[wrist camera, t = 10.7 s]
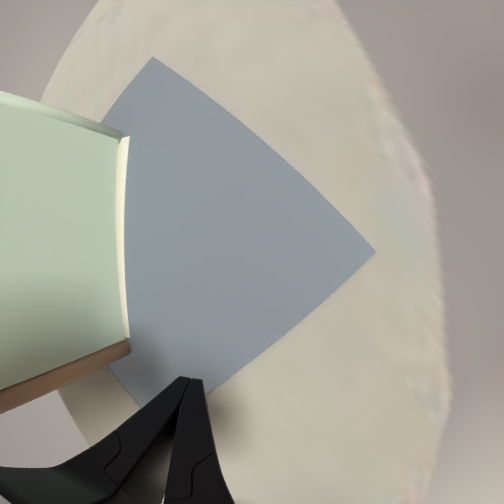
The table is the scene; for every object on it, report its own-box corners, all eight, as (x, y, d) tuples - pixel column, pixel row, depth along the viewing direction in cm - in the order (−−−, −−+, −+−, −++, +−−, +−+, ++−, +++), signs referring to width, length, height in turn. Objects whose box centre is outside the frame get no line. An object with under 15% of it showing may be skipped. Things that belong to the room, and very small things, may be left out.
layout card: (375, 251, 15) (376, 252, 15) (159, 424, 21) (156, 427, 20) (155, 58, 19) (152, 56, 19) (40, 240, 25) (37, 241, 25)
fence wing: (123, 128, 20) (-22, 79, 7) (132, 356, 20) (-7, 422, 8) (110, 133, 20) (-29, 91, 7) (119, 352, 21) (-16, 411, 8)
